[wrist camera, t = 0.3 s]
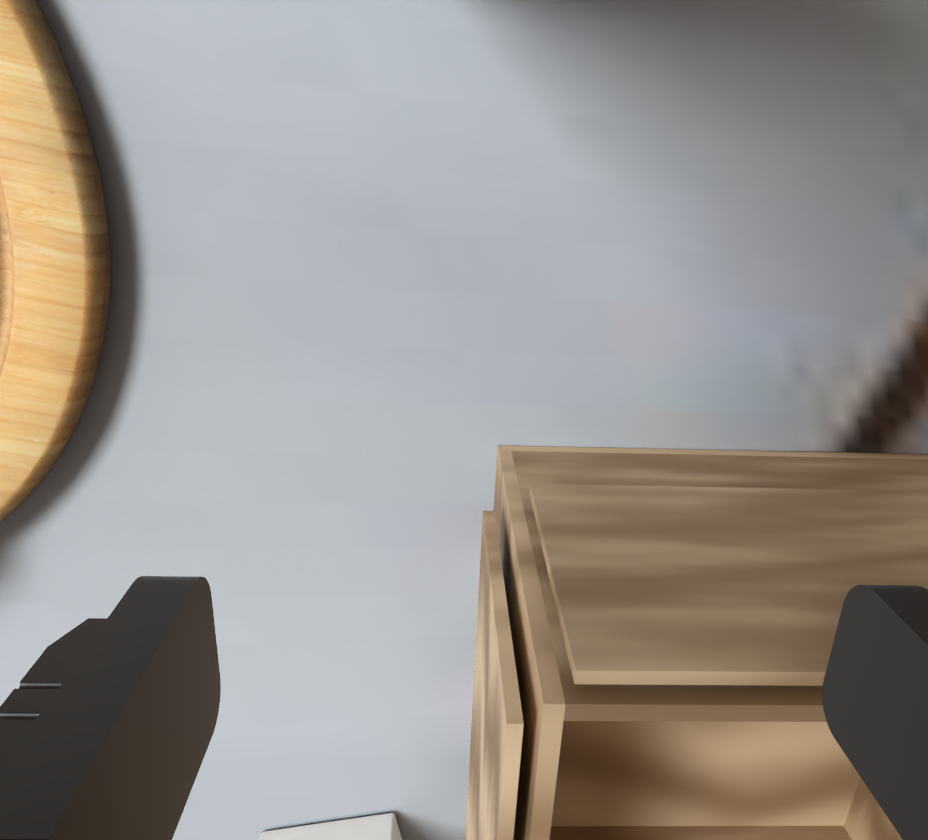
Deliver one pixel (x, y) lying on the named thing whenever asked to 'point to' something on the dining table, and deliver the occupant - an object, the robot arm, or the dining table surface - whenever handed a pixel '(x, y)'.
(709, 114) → the dining table surface
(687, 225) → the dining table surface
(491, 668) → the light wooden open box
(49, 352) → the wooden plate with food
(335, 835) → the milk carton
